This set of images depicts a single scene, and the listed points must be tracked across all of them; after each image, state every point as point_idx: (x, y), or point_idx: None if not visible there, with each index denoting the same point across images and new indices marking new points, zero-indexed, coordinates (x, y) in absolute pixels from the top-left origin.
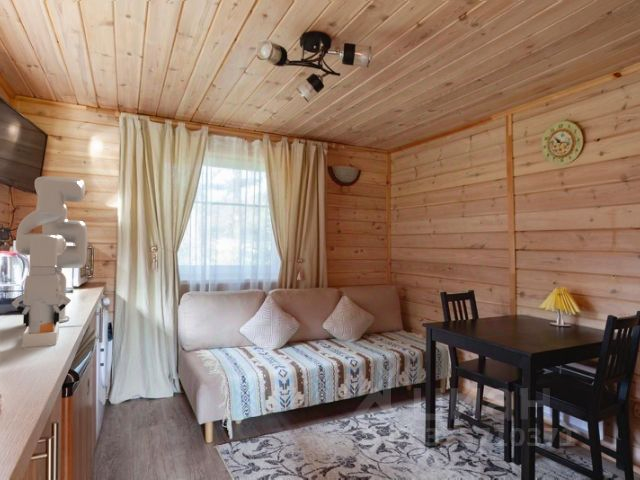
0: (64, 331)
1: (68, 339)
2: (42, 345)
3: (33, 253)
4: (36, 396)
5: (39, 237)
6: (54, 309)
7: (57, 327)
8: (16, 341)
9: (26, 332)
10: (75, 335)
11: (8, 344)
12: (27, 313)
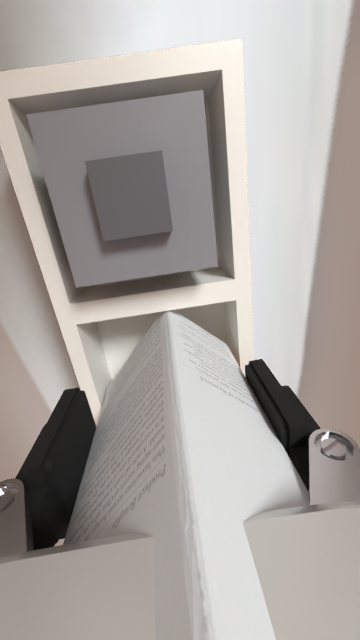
0: (249, 12)
1: (282, 303)
2: None
3: None
4: None
5: None
6: (298, 477)
7: (249, 299)
8: (31, 280)
9: (98, 405)
10: (318, 206)
11: (23, 338)
12: (56, 530)
